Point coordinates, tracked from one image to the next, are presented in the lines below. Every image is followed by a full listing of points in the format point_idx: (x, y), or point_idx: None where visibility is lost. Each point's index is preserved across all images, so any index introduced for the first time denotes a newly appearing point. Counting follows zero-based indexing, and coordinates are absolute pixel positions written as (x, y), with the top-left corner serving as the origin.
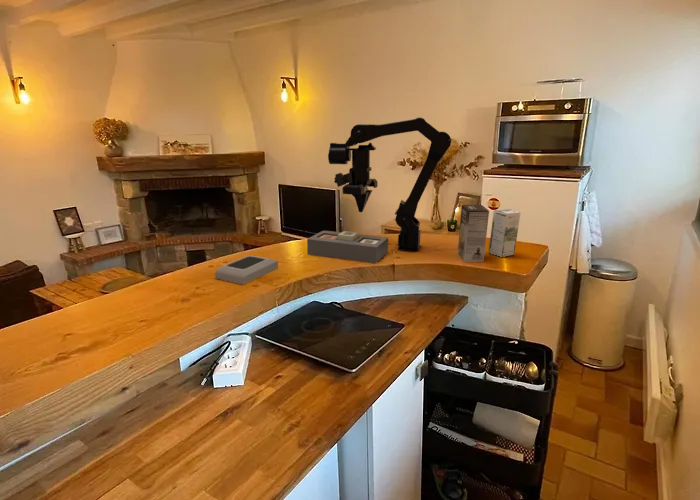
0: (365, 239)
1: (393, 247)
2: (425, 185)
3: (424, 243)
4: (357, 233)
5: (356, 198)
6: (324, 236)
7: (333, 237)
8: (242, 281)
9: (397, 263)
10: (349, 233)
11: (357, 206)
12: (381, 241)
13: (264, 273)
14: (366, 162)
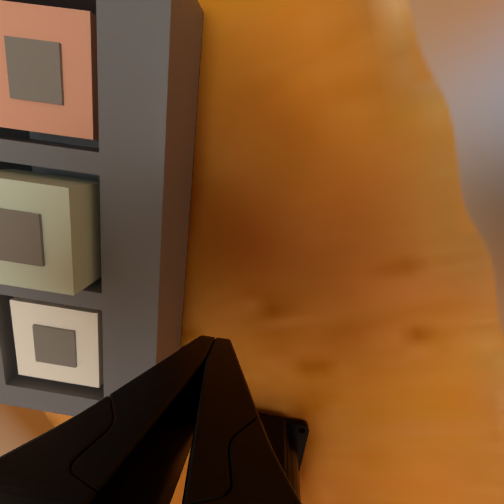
0: (92, 322)
1: (261, 388)
2: None
3: (356, 492)
4: (60, 292)
5: (9, 489)
6: (41, 34)
7: (47, 116)
8: None
9: (59, 414)
10: (12, 248)
11: (157, 364)
12: (64, 407)
13: None
14: None
